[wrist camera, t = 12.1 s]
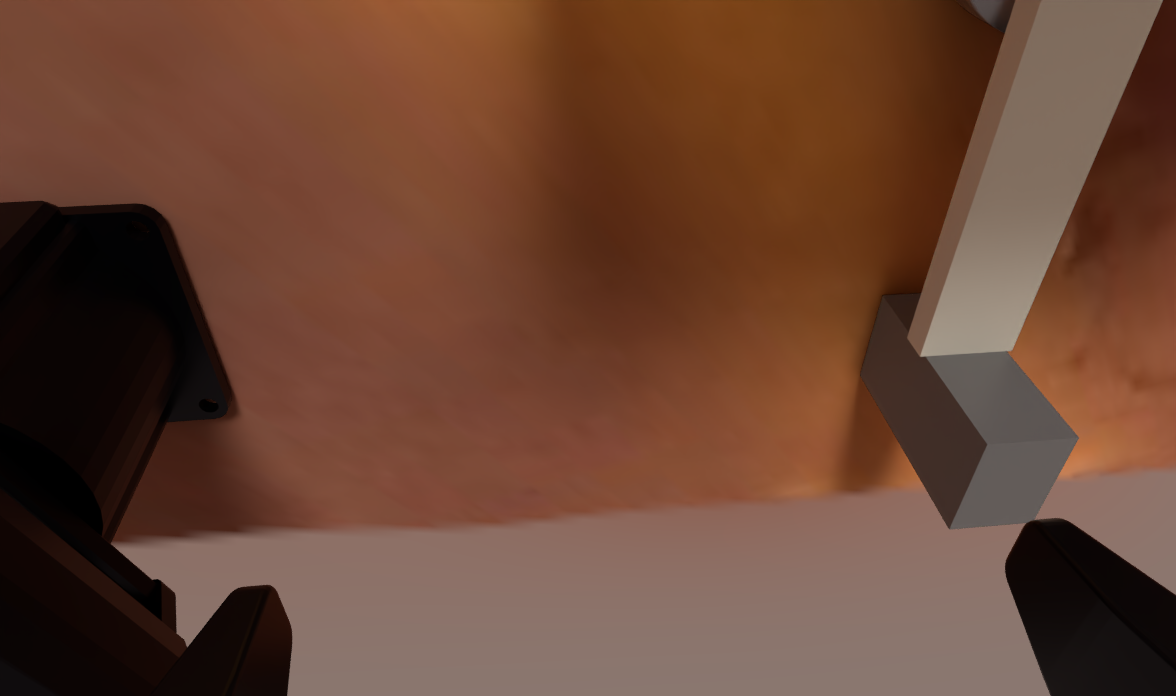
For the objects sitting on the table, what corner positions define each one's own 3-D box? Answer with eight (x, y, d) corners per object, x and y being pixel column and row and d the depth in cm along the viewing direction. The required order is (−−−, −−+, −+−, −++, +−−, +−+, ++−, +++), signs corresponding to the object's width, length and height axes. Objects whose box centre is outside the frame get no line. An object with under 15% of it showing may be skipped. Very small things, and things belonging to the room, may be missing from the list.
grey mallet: (932, 370, 24) (1038, 522, 20) (855, 375, 24) (943, 529, 20) (1163, -276, 15) (1481, -278, 10) (1037, -276, 14) (1300, -279, 10)
